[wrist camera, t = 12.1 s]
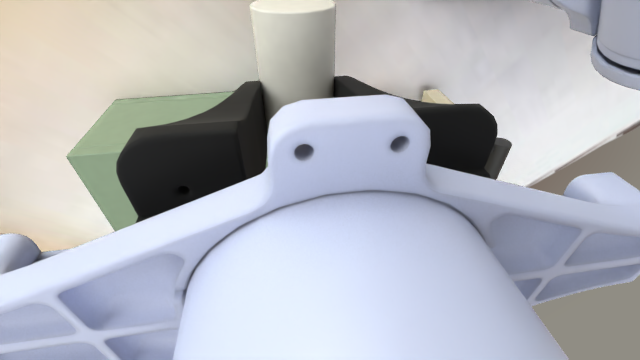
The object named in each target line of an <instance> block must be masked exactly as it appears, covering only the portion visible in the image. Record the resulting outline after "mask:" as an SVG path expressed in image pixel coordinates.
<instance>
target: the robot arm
mask: <svg viewBox="0 0 640 360" xmlns="http://www.w3.org/2000/svg"><path fill="white" fill-rule="evenodd" d="M528 1H532V2H535V3H539V4H543V5H547V6H551V7H554V8H558V9H562V10H564V11H565V12H566V13H567V14H568V16H569V19H570V28H571V29H573V30H576V31H579V32H582V33H585V34H588V35H591V36H595V35H596V34H597V35H596V36H595V37H594V38H593V42H592V48H591V54H590V55H591V62H592V64H593V66H594V68H595V69H596V71H598V72H599V73H600V74H601V75H602V76H603V77H605V78H607V79H609V80H610V81H612V82H615V83H617V84H620V85H622V86H625V87H628V88H632V89H636V90H640V0H528ZM496 137H497V123H496V121H495V118H494V116H493V115H492V114H491V113H489V112H488V111H487V110H486V109H485V108H484V107H482V106H481V105H480V104H440V103H428V102H421V101H415V100H410V99H405V98H402V97H398V96H394V95H391V94H388V93H386V92H383V91H380V90H378V89H376V88H373V87H371V86H369V85H367V84H365V83H363V82H361V81H358V80H356V79H354V78H352V77H349V76H337V77H334V98H324V99H309V100H301V101H297V102H294V103H291V104H288V105H285V106H283V107H282V108H281V109H280V110H279V111H278V112H277V113H276V114H275V115H274V116H273V117H272V119H271V120H270V124H269V129H268V134H267V126H266V118H265V110H264V103H263V95H262V87H261V82H260V81H251V82H245V83H244V84H243V85H242V86H240V87H239V88H238V89H237V90H236V91H235V92H234V93H232V94H231V95H230V96H229V97H227V98H226V99H225V100H223V101H222V102H221V103H219V104H218V105H216V106H214V107H213V108H211V109H209V110H207V111H205V112H203V113H200V114H198V115H195V116H192V117H190V118H187V119H184V120H180V121H177V122H172V123H168V124H163V125H157V126H150V127H143V128H136V130H135V131H134V132H133V134H132V136H131V137H130V139H129V140H128V142H127V143H126V145H125V146H124V148H123V150H122V151H121V153H120V155H119V157H118V160H117V162H116V173H117V176H118V179H119V182H120V184H121V186H122V188H123V190H124V191H125V193H126V195H127V197H128V199H129V201H130V202H131V204H132V206H133V208H134V210H135V212H136V213H137V215H138V218H137V220H136V223H135V224H133V225H131V226H128V227H125V228H123V229H120V230H118V231H115V232H113V233H110V234H108V235H105V236H102V237H100V238H97V239H95V240H92V241H90V242H87V243H85V244H82V245H80V246H77V247H74V248H72V249H65V250H56V251H47V252H41V251H40V249H39V248H38V246H37V245H36V244H35V243H34V242H33V241H32V240H31V239H30V238H28V237H27V236H24V235H21V234H1V235H0V360H569V359H568V357H567V356H566V355H565V353H564V352H563V350H562V349H561V348H560V346H559V345H558V344H557V342H556V341H555V339H554V338H553V336H552V335H551V334H550V332H549V331H548V329H547V328H546V327H545V325H544V324H543V322H542V321H541V320H540V318H539V317H538V315H537V314H536V313H535V311H534V310H533V308H532V307H531V306H533V305H536V304H540V303H543V302H547V301H550V300H553V299H557V298H560V297H564V296H567V295H571V294H575V293H578V292H582V291H586V290H590V289H595V288H599V287H604V286H609V285H615V284H621V283H627V282H631V281H633V280H634V279H635V278H637V277H638V276H639V275H640V191H639V190H638V189H636V188H635V187H633V186H632V185H630V184H629V183H628V182H626V181H625V180H623V179H622V178H620V177H619V176H617V175H616V174H615V173H613V172H606V173H597V174H587V175H581V176H578V177H576V178H575V179H573V180H572V181H571V182H570V183H569V184H568V186H567V188H566V190H565V191H564V194H563V195H557V194H553V193H548V192H544V191H540V190H536V189H532V188H527V187H523V186H519V185H515V184H511V183H506V182H502V181H498V180H494V179H490V174H489V173H488V172H487V171H486V170H485V169H484V168H485V165H486V163H487V160H488V158H489V156H490V153H491V151H492V149H493V146H494V144H495V141H496ZM267 156H268V167H267V168H266V160H267Z"/></svg>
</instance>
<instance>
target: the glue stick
mask: <svg viewBox="0 0 640 360" xmlns="http://www.w3.org/2000/svg"><path fill="white" fill-rule="evenodd" d="M250 12H251V20H252V28H253V35H254V43H255V50H256V58H257V66H258V73H259V81H260V82H261V87H262V95H263V103H264V110H265V118H266V126H267V134H268V129H269V124H270V120H271V119H272V117H273V116H274V115H275V114H276V113H277V112H278V111H279V110H280V109H281V108H282V107H283V106H285V105H288V104H291V103H294V102H297V101H301V100H309V99H324V98H334V63H335V24H336V4H335V2H333V1H331V0H258V1H255V2H253V3H251V4H250Z"/></svg>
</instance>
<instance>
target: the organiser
mask: <svg viewBox="0 0 640 360" xmlns="http://www.w3.org/2000/svg"><path fill="white" fill-rule="evenodd" d="M232 93H234V92H221V93H206V94H192V95H178V96H163V97H149V98H135V99H120V100H115V101H114V102H113V103H112V105H111V106H110V107H109V108H108V109H107V110H106V111H105V113H104V114H103V115H102V116H101V117H100V118H99V119H98V121H97V122H96V123H95V124H94V125H93V126H92V127H91V129H90V130H89V131H88V132H87V133H86V134H85V135H84V137H83V138H82V139H81V140H80V141H79V142H78V144H77V145H76V146H75V147H74V149H72V150H71V151H70V153H69V154H68V155H67V156H66V157H67V159H68V160H69V162H70V163H71V165H72V166H73V168H74V169H75V171H76V172H77V174H78V175H79V177H80V179H81V180H82V182H83V183H84V185H85V186H86V188H87V189H88V191H89V192H90V194H91V195H92V197H93V198H94V200H95V201H96V203H97V204H98V206H99V207H100V209H101V211H102V212H103V214H104V215H105V217H106V218H107V220H108V221H109V223H110V224H111V226H112V227H113V229H114V230H115V231H118V230H120V229H123V228H125V227H128V226H131V225H133V224H135V223H136V220H137V218H138V215H137V213H136V212H135V210H134V208H133V206H132V204H131V202H130V201H129V199H128V197H127V195H126V193H125V191H124V190H123V188H122V186H121V184H120V182H119V179H118V176H117V173H116V162H117V160H118V157H119V155H120V153H121V151H122V150H123V148H124V146H125V145H126V143H127V142H128V140H129V139H130V137H131V136H132V134H133V132H134V131H135V130H136V128H143V127H150V126H157V125H163V124H168V123H172V122H177V121H180V120H184V119H187V118H190V117H192V116H195V115H198V114H200V113H203V112H205V111H207V110H209V109H211V108H213V107H214V106H216V105H218V104H219V103H221V102H222V101H223V100H225V99H226V98H227V97H229V96H230V95H231V94H232ZM267 167H268V156H267V160H266V168H267Z"/></svg>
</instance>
